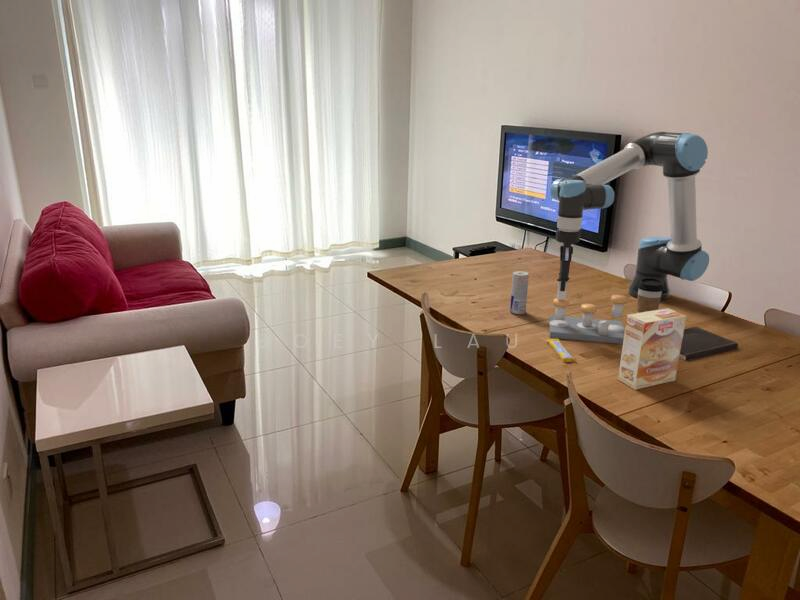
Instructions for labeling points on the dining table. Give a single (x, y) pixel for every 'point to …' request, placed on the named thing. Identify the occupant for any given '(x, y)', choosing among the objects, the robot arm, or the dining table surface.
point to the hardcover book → (703, 344)
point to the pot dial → (603, 328)
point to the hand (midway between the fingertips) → (561, 299)
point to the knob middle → (588, 314)
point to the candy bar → (560, 350)
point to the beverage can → (519, 292)
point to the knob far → (560, 308)
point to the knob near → (618, 305)
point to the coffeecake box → (651, 348)
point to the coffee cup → (649, 294)
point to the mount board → (585, 330)
